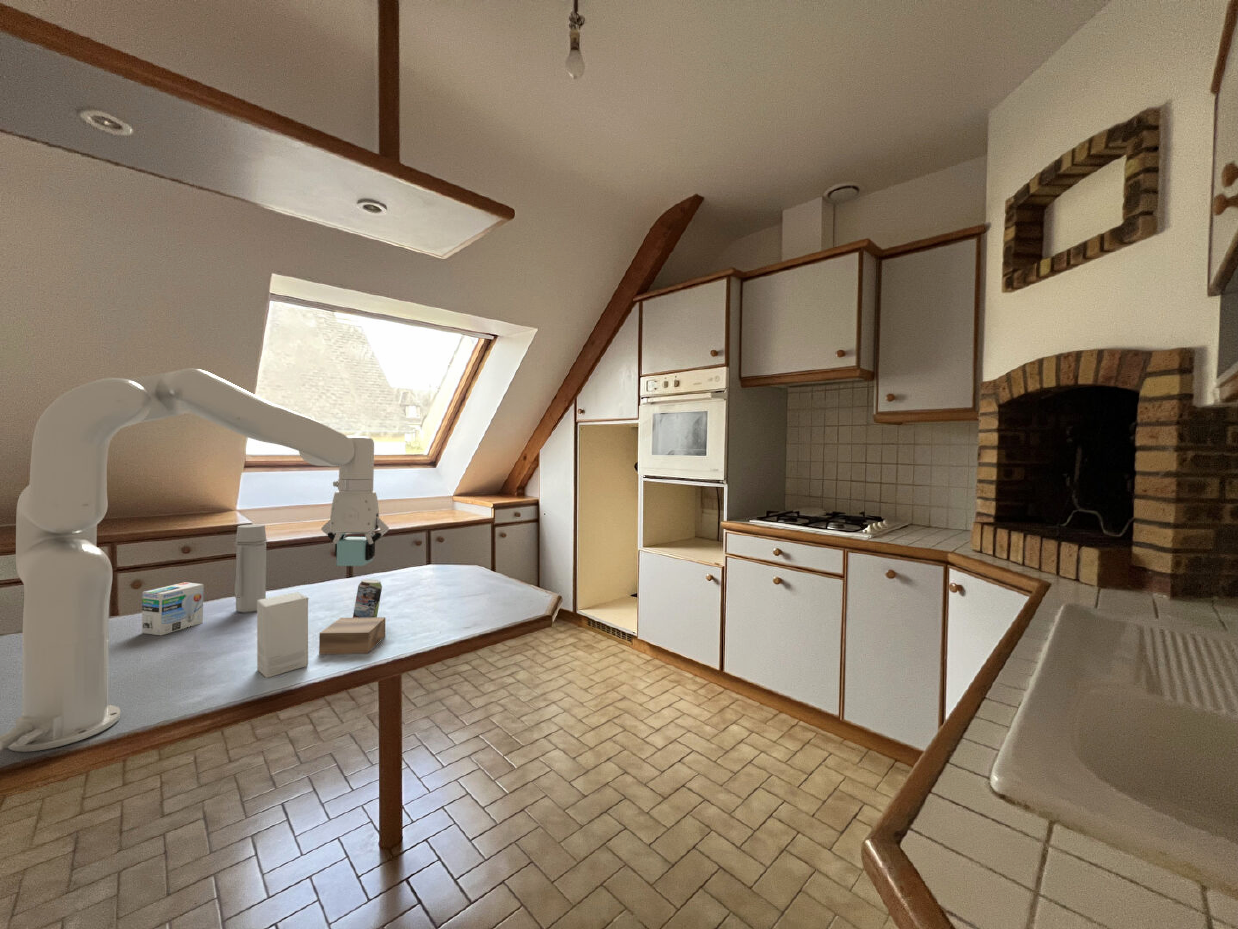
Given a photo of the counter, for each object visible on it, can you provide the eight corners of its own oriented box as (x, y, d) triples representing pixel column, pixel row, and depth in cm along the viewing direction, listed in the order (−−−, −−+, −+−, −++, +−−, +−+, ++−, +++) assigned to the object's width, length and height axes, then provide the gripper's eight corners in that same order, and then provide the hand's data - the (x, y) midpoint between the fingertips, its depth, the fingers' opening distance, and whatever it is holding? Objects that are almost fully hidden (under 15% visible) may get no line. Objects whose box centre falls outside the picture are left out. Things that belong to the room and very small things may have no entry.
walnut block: (368, 653, 116) (368, 632, 116) (319, 654, 115) (319, 633, 115) (385, 636, 127) (385, 617, 127) (340, 637, 126) (340, 617, 126)
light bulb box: (160, 636, 124) (161, 593, 124) (140, 633, 125) (140, 591, 125) (204, 622, 134) (205, 583, 134) (184, 620, 135) (185, 581, 135)
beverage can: (347, 624, 135) (348, 581, 135) (371, 617, 142) (372, 576, 141) (362, 629, 132) (362, 584, 132) (386, 621, 139) (386, 579, 138)
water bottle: (247, 605, 149) (248, 523, 149) (272, 606, 149) (273, 524, 149) (222, 615, 140) (223, 528, 140) (248, 616, 140) (249, 529, 139)
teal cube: (362, 565, 118) (363, 541, 118) (336, 565, 118) (337, 541, 118) (372, 560, 124) (373, 537, 124) (347, 560, 124) (348, 536, 124)
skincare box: (298, 658, 113) (300, 591, 112) (309, 667, 108) (310, 597, 108) (254, 670, 106) (255, 598, 106) (264, 679, 102) (265, 605, 102)
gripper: (311, 486, 116) (310, 562, 116) (387, 488, 118) (386, 562, 118) (326, 484, 123) (325, 556, 124) (398, 486, 125) (396, 556, 126)
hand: (355, 558), depth 121 cm, fingers closed on teal cube, 6 cm apart
